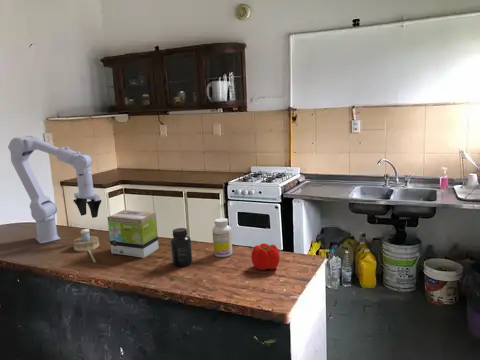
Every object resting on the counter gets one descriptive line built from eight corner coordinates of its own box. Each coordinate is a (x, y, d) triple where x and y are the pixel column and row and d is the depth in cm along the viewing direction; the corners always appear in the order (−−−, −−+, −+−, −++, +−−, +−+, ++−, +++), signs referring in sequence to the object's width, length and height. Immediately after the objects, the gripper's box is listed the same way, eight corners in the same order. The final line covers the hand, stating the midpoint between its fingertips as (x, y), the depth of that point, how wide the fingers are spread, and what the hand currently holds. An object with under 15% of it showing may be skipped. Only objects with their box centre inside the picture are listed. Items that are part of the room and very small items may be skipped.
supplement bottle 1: (195, 260, 141) (193, 227, 139) (187, 268, 135) (184, 233, 133) (178, 258, 144) (175, 226, 142) (168, 266, 137) (165, 232, 135)
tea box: (110, 254, 151) (106, 216, 149) (127, 245, 161) (123, 209, 158) (144, 258, 146) (140, 218, 143) (159, 248, 155) (156, 211, 152)
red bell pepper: (247, 267, 133) (245, 245, 132) (267, 260, 139) (266, 239, 137) (265, 276, 126) (264, 253, 125) (286, 268, 131) (286, 246, 130)
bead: (71, 247, 162) (70, 239, 161) (94, 241, 167) (93, 234, 166) (78, 253, 155) (77, 245, 154) (102, 247, 160) (101, 239, 159)
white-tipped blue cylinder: (89, 245, 163) (87, 228, 162) (92, 247, 161) (90, 230, 159) (81, 247, 161) (79, 230, 160) (84, 249, 159) (82, 231, 157)
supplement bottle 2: (221, 249, 151) (219, 216, 148) (236, 252, 147) (234, 218, 145) (210, 255, 145) (207, 221, 143) (225, 259, 142) (223, 223, 139)
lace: (88, 251, 156) (87, 250, 156) (89, 250, 157) (89, 249, 156) (93, 262, 144) (93, 261, 144) (95, 262, 144) (95, 261, 144)
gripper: (66, 184, 167) (70, 216, 170) (87, 187, 159) (91, 220, 162) (81, 181, 173) (85, 212, 176) (102, 183, 165) (106, 216, 167)
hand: (89, 216), depth 169 cm, fingers open, 7 cm apart
